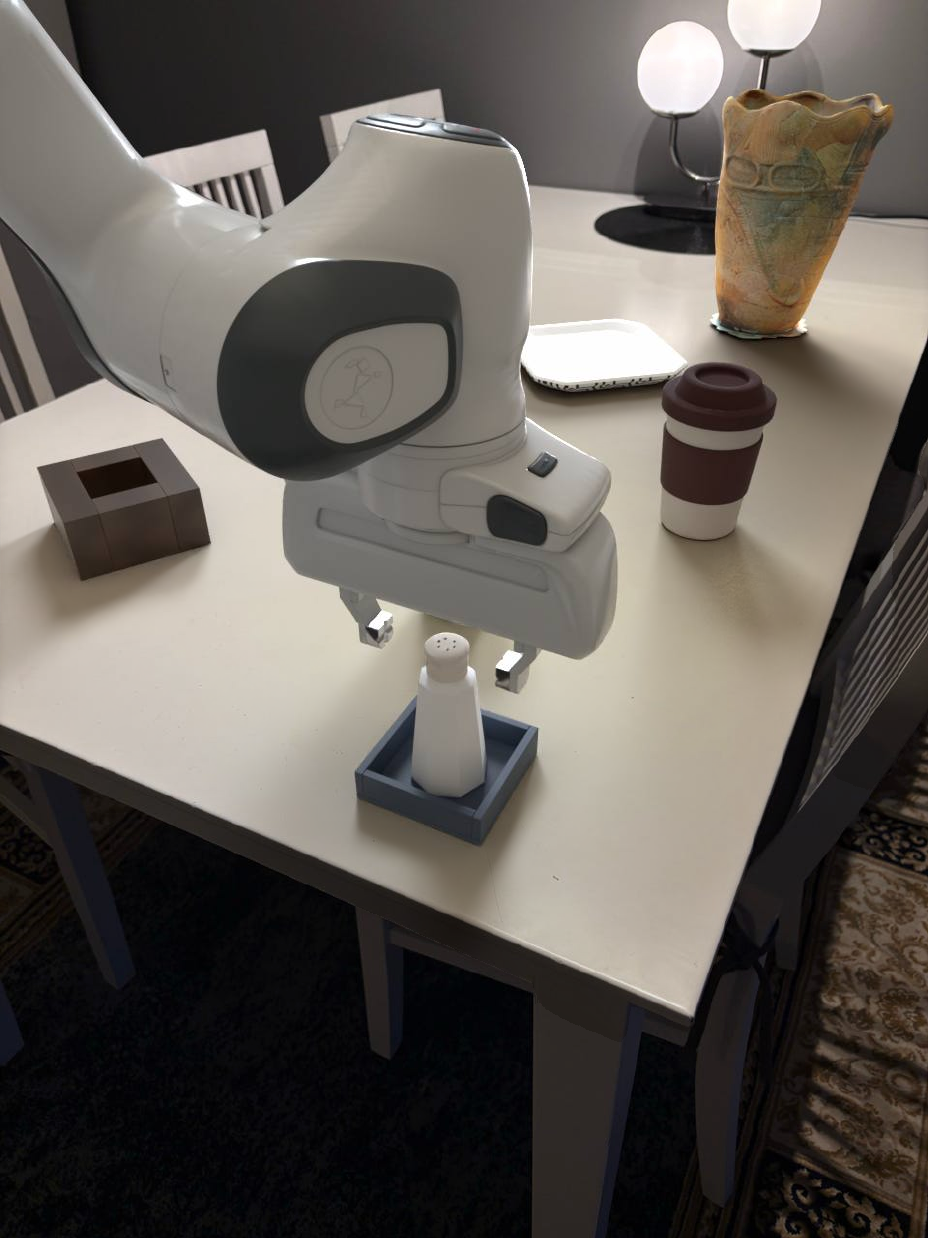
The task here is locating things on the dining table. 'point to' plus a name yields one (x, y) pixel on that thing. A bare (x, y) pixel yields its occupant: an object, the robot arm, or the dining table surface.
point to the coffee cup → (711, 446)
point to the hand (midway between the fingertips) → (442, 662)
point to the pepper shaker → (448, 721)
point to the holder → (124, 507)
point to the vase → (786, 201)
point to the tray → (462, 817)
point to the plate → (598, 355)
